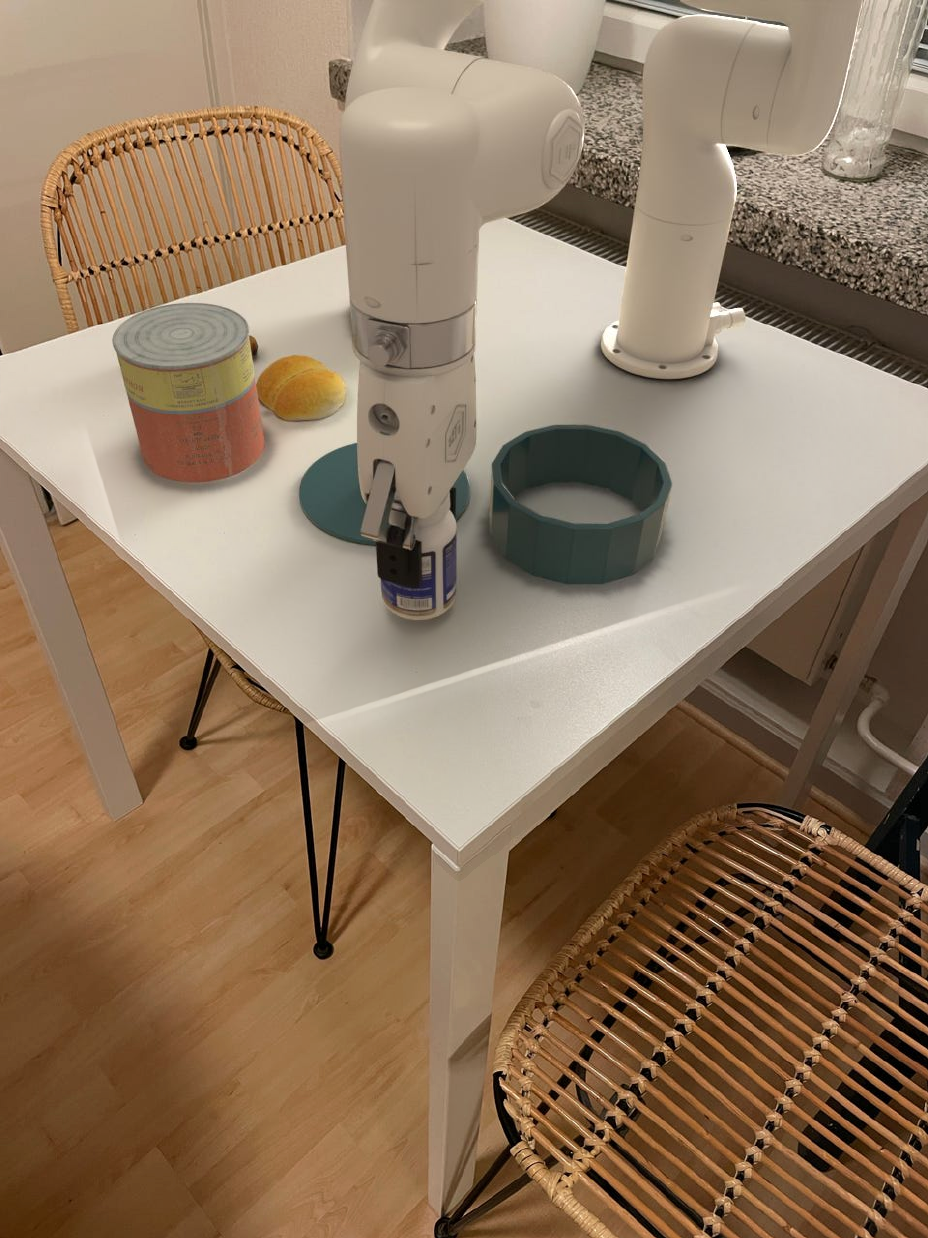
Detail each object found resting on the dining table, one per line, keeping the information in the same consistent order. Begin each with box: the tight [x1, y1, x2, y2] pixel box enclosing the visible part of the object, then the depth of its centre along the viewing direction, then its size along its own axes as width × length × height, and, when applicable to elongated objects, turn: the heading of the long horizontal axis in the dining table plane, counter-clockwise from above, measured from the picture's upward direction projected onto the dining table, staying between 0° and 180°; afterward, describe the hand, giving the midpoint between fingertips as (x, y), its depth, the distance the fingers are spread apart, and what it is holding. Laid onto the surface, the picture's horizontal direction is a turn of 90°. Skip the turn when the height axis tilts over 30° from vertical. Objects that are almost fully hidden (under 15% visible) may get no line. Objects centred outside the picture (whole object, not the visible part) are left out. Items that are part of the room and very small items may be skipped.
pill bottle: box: [380, 491, 458, 621], centre depth 69 cm, size 6×6×10 cm
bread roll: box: [256, 354, 347, 422], centre depth 94 cm, size 8×9×4 cm
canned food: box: [112, 302, 265, 483], centre depth 85 cm, size 11×11×12 cm
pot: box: [488, 424, 673, 585], centre depth 79 cm, size 14×14×6 cm
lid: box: [298, 442, 471, 546], centre depth 82 cm, size 15×15×7 cm
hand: (417, 552), depth 70 cm, fingers closed on pill bottle, 5 cm apart
